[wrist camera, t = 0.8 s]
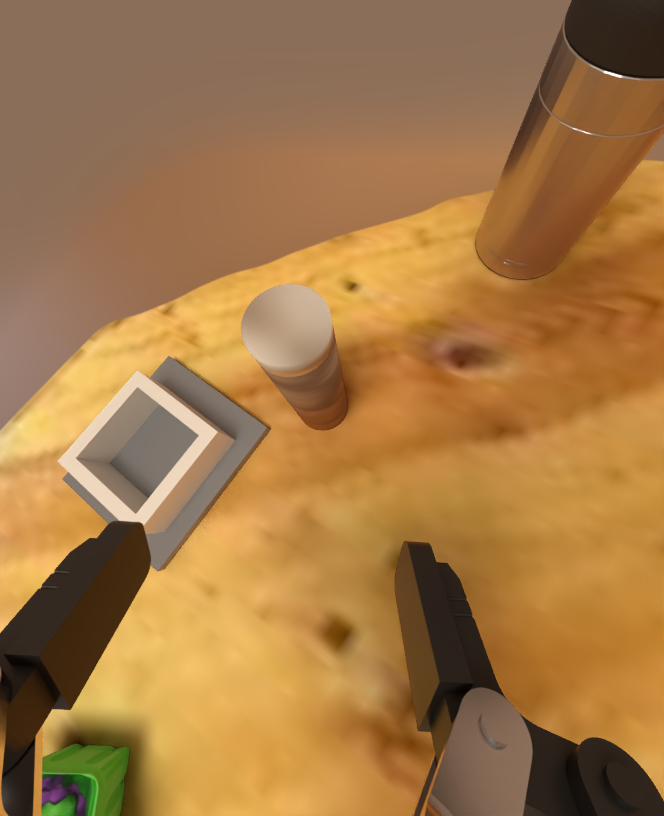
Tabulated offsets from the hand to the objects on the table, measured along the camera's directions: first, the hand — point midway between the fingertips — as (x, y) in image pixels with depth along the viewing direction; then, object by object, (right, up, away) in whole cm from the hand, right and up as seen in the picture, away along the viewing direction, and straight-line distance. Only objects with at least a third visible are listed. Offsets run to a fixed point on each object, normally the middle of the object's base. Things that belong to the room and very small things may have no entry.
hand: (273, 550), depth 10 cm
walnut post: (+1, +5, +23) cm, 23 cm away
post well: (-15, 0, +23) cm, 27 cm away
